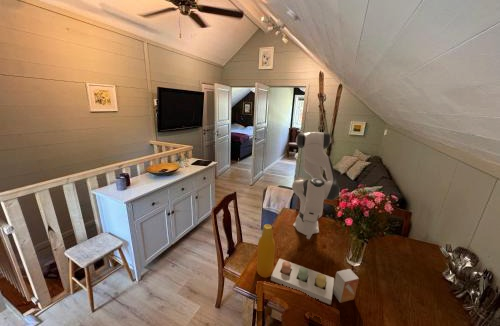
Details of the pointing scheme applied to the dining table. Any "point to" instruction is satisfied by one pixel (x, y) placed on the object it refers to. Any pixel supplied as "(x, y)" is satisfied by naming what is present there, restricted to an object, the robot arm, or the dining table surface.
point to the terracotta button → (286, 268)
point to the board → (303, 286)
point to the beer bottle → (266, 252)
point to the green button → (303, 274)
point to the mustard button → (320, 281)
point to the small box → (345, 285)
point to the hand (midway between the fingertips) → (310, 233)
